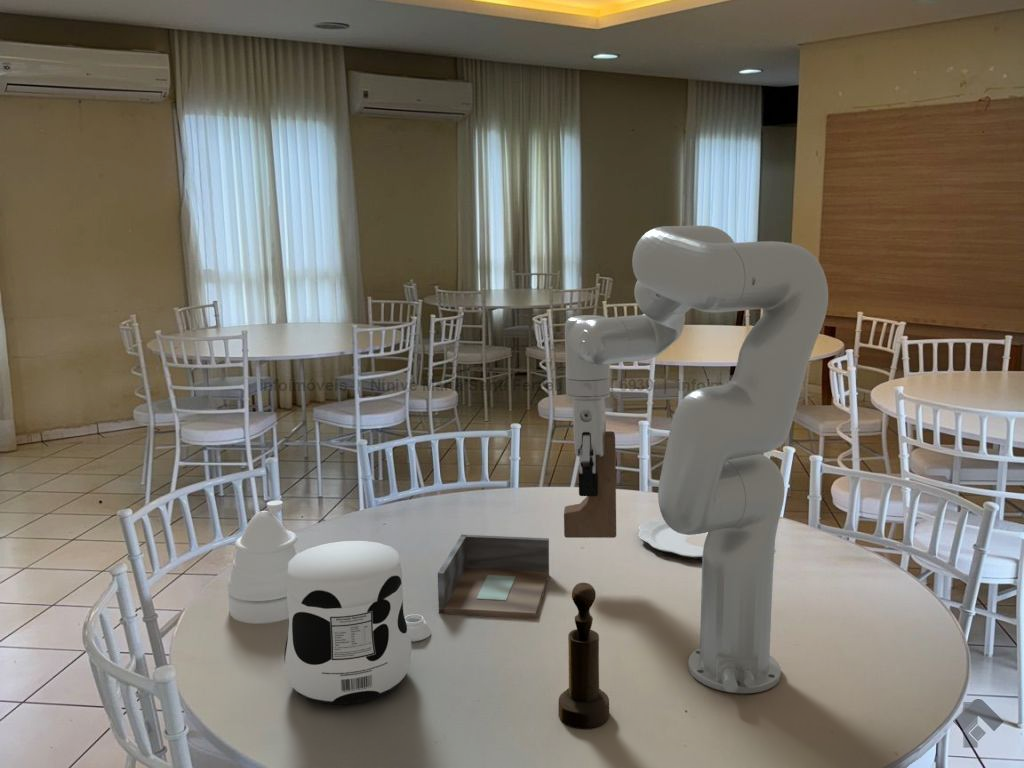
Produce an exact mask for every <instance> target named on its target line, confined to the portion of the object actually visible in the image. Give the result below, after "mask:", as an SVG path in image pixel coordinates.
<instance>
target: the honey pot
mask: <svg viewBox="0 0 1024 768" xmlns="http://www.w3.org/2000/svg"><path fill="white" fill-rule="evenodd" d="M283 505H284V503H283V501H282V500H270V501H268V502H267V503H266V507H267V510H268V511H267V510H262V511H258V512H257V513H255V514H254V515H253V516H252V517H251V519H250V520H249V522H248V523H247V525H246V527H245V529H244V531H243V532H242V533H243V534H242V535H241V536H240V537H238V538H236V540H235V542H234V547H235V549H236V553H235V556H234V559H233V561H232V568H231V569H230V576H229V577H228V579H227V592H228V604H229V605H228V607H229V614H230V617H232V619H233V620H236V621H238V622H240V623H241V622H242V623H245V624H259V625H260V624H271V623H276V622H281V621H284V620H289V612H288V603H287V593H288V592H287V572H288V564H289V561H290V560H291V559H292V558H293V557H294V556H295V555H296V554H298V553H299V552H298V551H297V550H296V548H295V544H297V541H298V536H297V534H296V533H295V532H294V531H291V530H287V529H286V528H285V526H284V524H283V523H282V522H281V521H280V520H279V518H277V516H276V515H278V514H279V513H281V511H282V509H283Z"/></svg>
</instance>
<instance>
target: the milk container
mask: <svg viewBox="0 0 1024 768" xmlns="http://www.w3.org/2000/svg"><path fill="white" fill-rule="evenodd" d="M401 565H402V564H401V560H400V556H399V552H398V551H397V550H396V549H394V548H393V547H392V546H390V545H386V544H384V543H381V542H377V541H375V542H374V541H365V540H343V541H336V542H330V543H329V542H327V543H324V544H320V545H317V546H313V547H309V548H306V549H305V550H302V551H301V552H298V554H296V555H295V556H294V557H293V558H292V559H291V560H290V561H289V564H288V572H287V592H288V593H287V603H288V612H289V618H288V629H287V630H288V631H287V635H286V640H285V646H284V654H283V656H284V658H283V659H284V667H285V672H286V675H287V679H288V682H289V683H290V685H291V686H292V688H293V689H294V690H295V692H297V694H299V695H300V696H303V697H305V698H306V699H309V700H312V701H313V702H316V703H317V702H319V703H324V704H328V705H340V704H342V705H344V704H345V705H347V704H350V705H351V704H356V703H359V702H365V701H369V700H373V699H375V698H378V697H379V696H382V695H384V694H387V693H389V692H390V691H391V690H393V689H394V688H395V687H397V686H398V685H399V684H400V683H401V682H402V681H403V680H404V679H405V677H406V675H407V673H408V671H409V669H410V664H411V658H412V642H411V637H410V633H409V630H408V627H407V624H406V621H405V614H404V588H403V587H404V586H403V572H402V566H401Z"/></svg>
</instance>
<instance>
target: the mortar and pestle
mask: <svg viewBox="0 0 1024 768" xmlns="http://www.w3.org/2000/svg"><path fill="white" fill-rule="evenodd" d="M596 595H597V594H596V590H595V588H594V586H593V585H591V584H590V583H588V582H579V583H576V584H575V585H574V586H573V588H572V591H571V599H572V602H573V603H574V605H575V606H576V608H577V612H578V613H577V615H575V616H574V623H575V626H576V628H575V629H572V630H571V631H570V632H569V633H568V635H567V636H568V638H567V639H568V687H567V689H566V690H564V691H563V692H562V693H561V694H560V695H559V697H558V718H559V720H560V721H561V722H562V723H563V724H565V725H566V726H568V727H571V728H574V729H575V728H576V729H583V730H587V729H594V728H599V727H600V726H602V725H603V724H605V723H606V722H607V721H608V720H609V718H610V699H609V696H608V694H607V693H606V692H604V691H603V690H602V689H600V665H599V664H600V656H599V655H600V652H599V651H600V648H599V647H600V645H599V644H600V636H599V633H598V632H597V631H595V630H592V629H591V628H592V625H593V619H594V618H593V616H592V615H591V614H590V609H591V607H592V606H593V604H594V602H595V600H596V597H597V596H596Z"/></svg>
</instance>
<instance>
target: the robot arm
mask: <svg viewBox="0 0 1024 768" xmlns="http://www.w3.org/2000/svg"><path fill="white" fill-rule="evenodd" d="M631 261H632V263H631V264H632V266H631V267H632V270H633V275H634V276H635V278H636V280H637V281H636V283H635V285H634V290H633V291H634V292H633V294H634V298H635V302H636V305H637V306H638V308H639V309H640V311H641V312H642V313H643V314H639V315H638V314H637V315H624V316H623V315H622V316H613V317H604V316H602V315H596V314H595V315H594V314H593V315H592V314H591V315H589V314H588V315H587V314H586V315H584V314H583V315H575V316H571V317H569V318H567V319H566V321H565V323H564V324H565V325H564V342H565V343H564V344H565V345H564V347H565V348H564V350H565V351H564V352H565V353H564V355H565V393H566V394H565V395H566V398H568V399H569V400H570V399H571V400H572V415H573V416H572V417H573V419H572V420H573V421H572V422H573V425H572V426H573V442H574V453H575V456H576V457H579V465H578V466H579V467H578V468H579V469H578V471H579V472H578V496H580V497H587V496H597V495H598V473H596V455H600V457H602V456H603V455H604V436H605V432H606V430H607V426H606V402H605V399H608V398H610V397H611V365H614V364H620V363H621V364H622V363H631V362H641V361H642V362H643V361H647V360H651V359H653V358H656V357H657V356H659V355H661V354H662V353H663V352H665V351H666V350H668V349H669V348H670V347H671V346H672V345H674V344H675V343H676V342H677V341H678V340H679V339H680V337H681V336H682V333H683V330H684V326H685V321H686V313H687V312H689V310H691V309H694V310H697V311H700V312H706V313H728V312H741V311H751V310H761V309H762V312H763V314H762V316H761V317H760V318H759V320H757V322H756V323H755V324H754V326H752V328H751V329H750V330H749V332H748V334H747V335H746V337H745V339H744V341H743V342H742V345H741V346H740V350H739V353H738V358H737V363H736V365H735V366H736V367H735V369H734V373H733V375H732V377H731V380H729V381H728V382H727V383H725V384H721V385H720V384H719V385H713V386H707V387H702V388H699V389H696V390H693V391H691V392H690V393H688V394H687V395H686V396H684V398H683V399H681V401H680V402H679V404H678V406H677V407H676V409H675V411H674V413H673V415H672V416H673V417H672V421H671V422H670V423H671V425H670V428H669V432H668V438H667V441H666V448H665V453H664V457H663V462H662V467H661V471H660V477H659V481H658V491H657V492H658V493H657V496H658V497H657V498H658V506H659V510H660V513H661V516H662V517H663V519H664V521H665V522H666V523H667V525H668V526H669V527H670V528H671V529H673V530H674V531H676V532H678V533H681V534H685V535H695V534H702V533H707V532H708V534H707V536H705V540H704V543H703V547H704V548H703V556H702V559H701V560H702V564H701V590H700V593H701V595H700V597H701V598H700V633H699V634H700V638H699V647H698V648H696V649H695V650H694V651H693V652H692V653H691V654H690V655H689V658H688V664H687V667H688V670H689V672H690V674H691V676H693V678H695V680H697V681H698V682H699V683H701V684H703V685H705V686H707V687H709V688H712V689H714V690H717V691H720V692H721V691H722V692H725V693H732V694H744V695H745V694H755V693H760V692H765V691H767V690H769V689H772V688H773V687H775V686H776V685H777V684H779V681H780V680H781V665H780V663H779V662H778V661H777V660H776V658H774V657H773V656H771V653H770V651H771V650H770V649H771V631H772V630H771V627H772V606H773V605H772V603H773V601H772V600H773V582H774V581H773V580H774V578H773V577H774V566H775V565H774V563H775V547H776V536H777V531H778V526H779V521H780V517H781V514H782V510H783V505H784V500H785V494H786V493H785V490H786V489H785V481H784V476H783V474H782V472H781V470H780V468H779V466H778V464H776V463H775V462H774V461H773V460H772V459H771V458H769V457H767V456H766V455H763V454H765V453H769V452H772V451H775V450H776V449H778V448H781V446H783V445H784V443H785V442H786V440H787V439H788V436H789V434H790V432H791V428H792V424H793V422H794V417H795V414H796V411H797V407H798V403H799V400H800V396H801V392H802V389H803V385H804V382H805V378H806V373H807V368H808V365H809V362H810V358H811V356H812V353H813V350H814V347H815V344H816V342H817V340H818V338H819V335H820V332H821V330H822V328H823V324H824V321H825V319H826V315H827V310H828V304H829V287H828V282H827V277H826V274H825V272H824V269H823V267H822V265H821V264H820V262H819V260H818V259H817V257H816V256H815V255H814V254H813V253H812V252H810V251H809V250H808V249H806V248H804V247H802V246H800V245H798V244H794V243H791V242H784V241H776V240H775V241H774V240H773V241H771V240H770V241H768V240H767V241H749V242H746V241H745V242H735V241H734V239H733V238H732V236H730V235H729V233H727V232H726V231H724V230H723V229H720V228H718V227H714V226H711V225H673V226H672V225H671V226H669V225H666V226H665V225H663V226H658V227H654V228H652V229H650V230H649V231H646V232H645V233H644V234H643V235H641V237H640V239H639V240H637V243H636V245H635V247H634V248H633V253H632V260H631ZM590 440H591V442H590ZM590 452H593V455H590ZM590 459H593V461H590Z"/></svg>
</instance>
